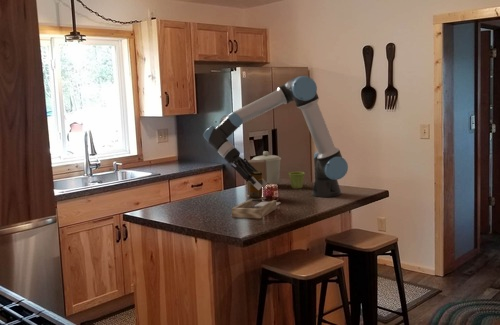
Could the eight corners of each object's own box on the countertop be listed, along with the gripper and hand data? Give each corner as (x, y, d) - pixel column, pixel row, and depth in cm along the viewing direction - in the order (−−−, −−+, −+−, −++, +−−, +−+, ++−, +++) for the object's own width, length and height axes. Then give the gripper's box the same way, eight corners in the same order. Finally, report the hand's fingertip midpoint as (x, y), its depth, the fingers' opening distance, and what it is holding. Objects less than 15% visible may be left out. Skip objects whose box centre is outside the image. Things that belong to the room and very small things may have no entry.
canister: (246, 187, 312) (244, 152, 309) (266, 182, 325) (264, 149, 322) (269, 189, 300) (267, 153, 297) (288, 184, 313) (287, 149, 310)
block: (268, 195, 282) (266, 159, 279) (266, 199, 272) (264, 161, 269) (249, 196, 283) (247, 159, 280) (247, 199, 273) (245, 162, 270)
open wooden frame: (276, 208, 248) (276, 200, 248) (260, 218, 230) (260, 209, 229) (249, 207, 254) (249, 199, 253) (232, 217, 235) (231, 208, 235)
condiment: (258, 194, 251) (259, 170, 249) (266, 199, 243) (267, 174, 241) (245, 195, 248) (246, 171, 246) (252, 200, 240) (253, 175, 238)
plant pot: (307, 186, 303) (306, 171, 302) (302, 189, 295) (301, 174, 294) (292, 186, 307) (291, 171, 306) (286, 189, 298) (286, 174, 297)
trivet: (280, 203, 260) (280, 202, 260) (273, 207, 251) (273, 206, 250) (262, 202, 264) (261, 201, 264) (254, 206, 254) (254, 205, 254)
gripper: (232, 155, 258) (265, 188, 254) (216, 161, 241) (250, 196, 237) (241, 145, 256) (274, 178, 252) (225, 149, 238) (260, 185, 234)
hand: (262, 187), depth 244 cm, fingers closed on condiment, 6 cm apart
